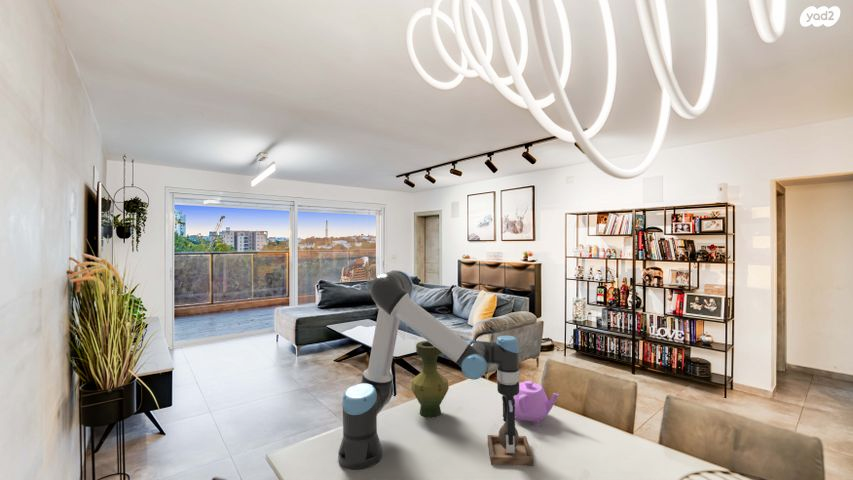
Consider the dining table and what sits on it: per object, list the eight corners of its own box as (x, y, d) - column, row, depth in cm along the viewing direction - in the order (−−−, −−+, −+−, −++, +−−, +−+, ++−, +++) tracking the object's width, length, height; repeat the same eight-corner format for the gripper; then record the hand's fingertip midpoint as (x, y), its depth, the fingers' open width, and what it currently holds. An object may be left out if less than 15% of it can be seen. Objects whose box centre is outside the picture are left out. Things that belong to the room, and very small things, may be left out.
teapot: (551, 437, 142) (551, 397, 142) (501, 424, 153) (501, 387, 153) (563, 416, 159) (562, 380, 159) (516, 405, 170) (516, 372, 170)
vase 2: (519, 453, 128) (518, 427, 128) (498, 451, 130) (498, 425, 129) (518, 442, 135) (518, 418, 135) (498, 440, 136) (498, 416, 136)
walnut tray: (490, 464, 126) (490, 456, 126) (487, 441, 140) (487, 434, 140) (533, 466, 125) (533, 458, 125) (526, 443, 139) (525, 436, 139)
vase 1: (454, 409, 167) (453, 341, 167) (439, 425, 153) (438, 351, 153) (422, 402, 174) (421, 337, 174) (404, 417, 160) (403, 346, 160)
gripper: (524, 392, 122) (524, 463, 122) (514, 371, 142) (515, 432, 142) (500, 392, 123) (501, 462, 123) (494, 371, 142) (495, 431, 142)
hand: (508, 446), depth 132 cm, fingers closed on vase 2, 7 cm apart
